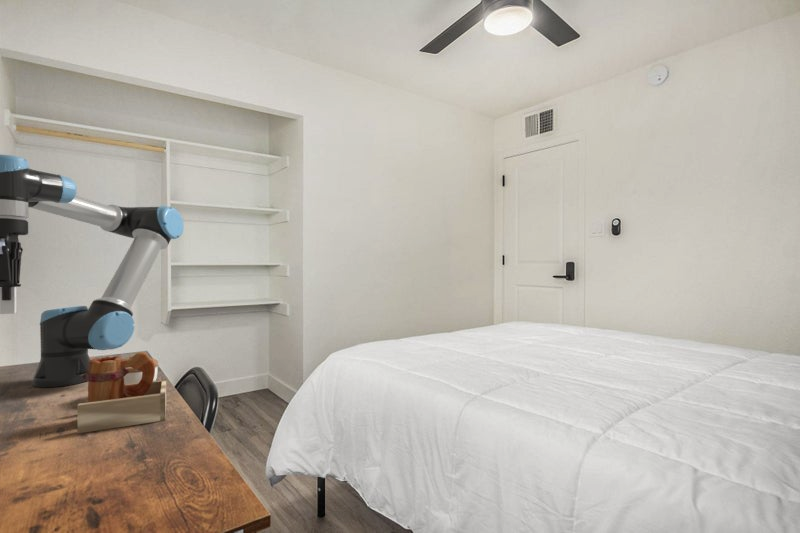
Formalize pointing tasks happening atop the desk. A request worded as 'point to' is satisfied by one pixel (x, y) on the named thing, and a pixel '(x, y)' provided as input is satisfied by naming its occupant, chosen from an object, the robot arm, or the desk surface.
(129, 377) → the lidded bowl
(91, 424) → the wooden u-shaped frame
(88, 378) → the mug
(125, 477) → the desk surface
